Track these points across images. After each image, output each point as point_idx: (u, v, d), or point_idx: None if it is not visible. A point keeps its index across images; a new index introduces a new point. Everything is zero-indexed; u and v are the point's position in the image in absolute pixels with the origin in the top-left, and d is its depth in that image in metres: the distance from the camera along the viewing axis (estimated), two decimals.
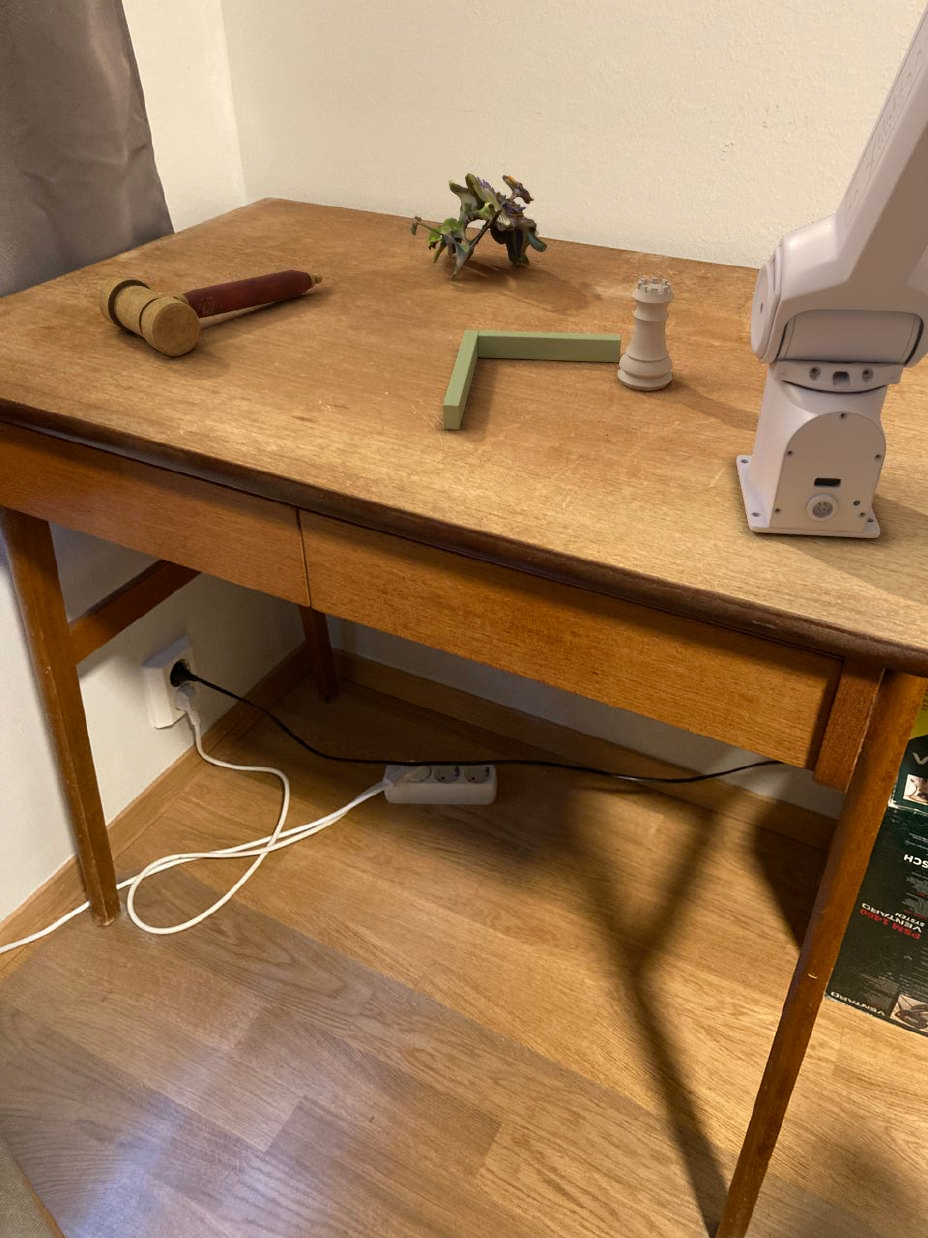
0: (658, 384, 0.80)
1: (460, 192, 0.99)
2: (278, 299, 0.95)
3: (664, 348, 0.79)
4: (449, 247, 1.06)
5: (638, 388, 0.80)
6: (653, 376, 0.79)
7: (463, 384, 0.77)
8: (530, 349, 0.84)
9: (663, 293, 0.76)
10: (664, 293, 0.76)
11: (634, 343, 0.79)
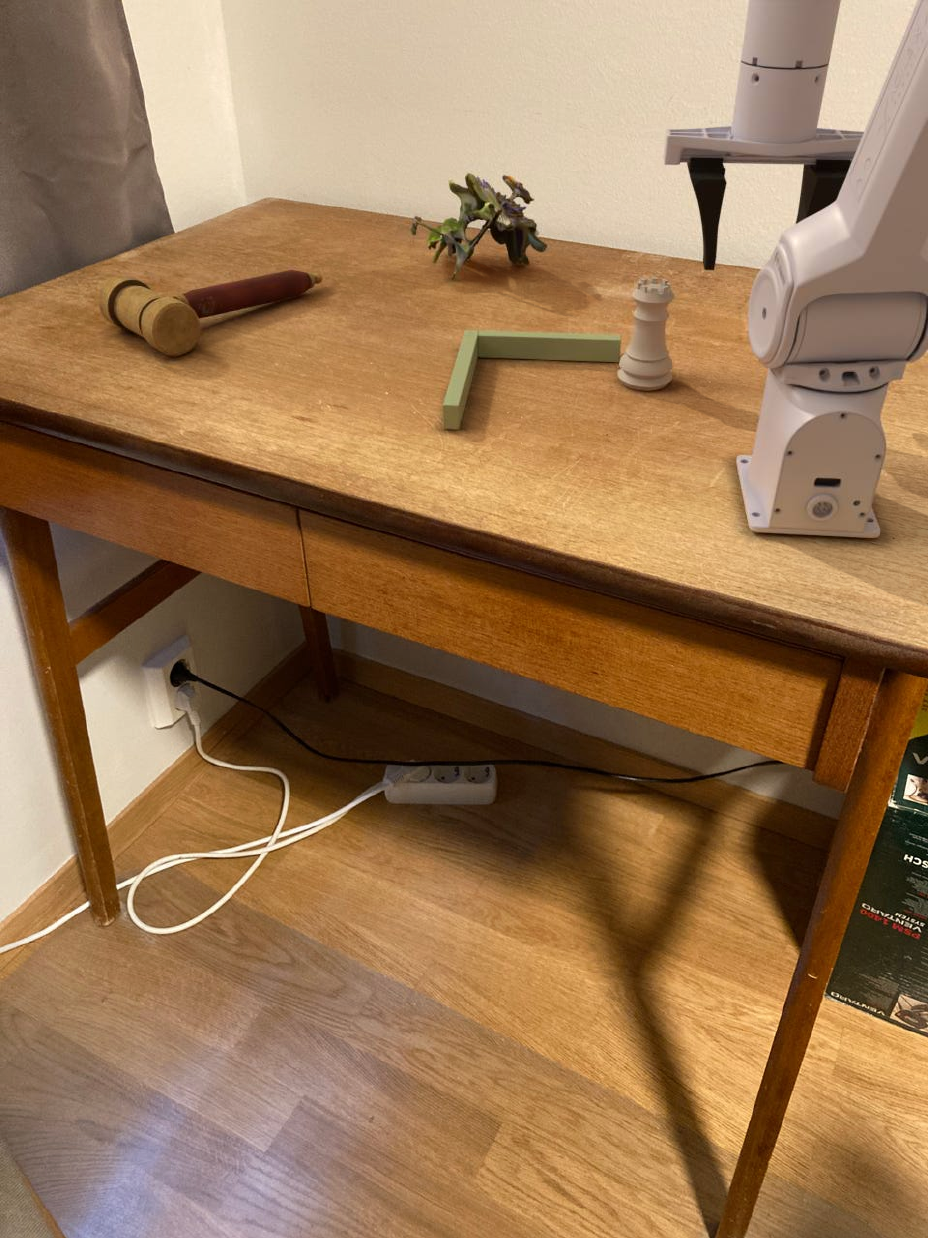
0: (658, 384, 0.80)
1: (460, 192, 0.99)
2: (278, 299, 0.95)
3: (664, 348, 0.79)
4: (449, 247, 1.06)
5: (638, 388, 0.80)
6: (653, 376, 0.79)
7: (463, 384, 0.77)
8: (530, 349, 0.84)
9: (663, 293, 0.76)
10: (664, 293, 0.76)
11: (634, 343, 0.79)
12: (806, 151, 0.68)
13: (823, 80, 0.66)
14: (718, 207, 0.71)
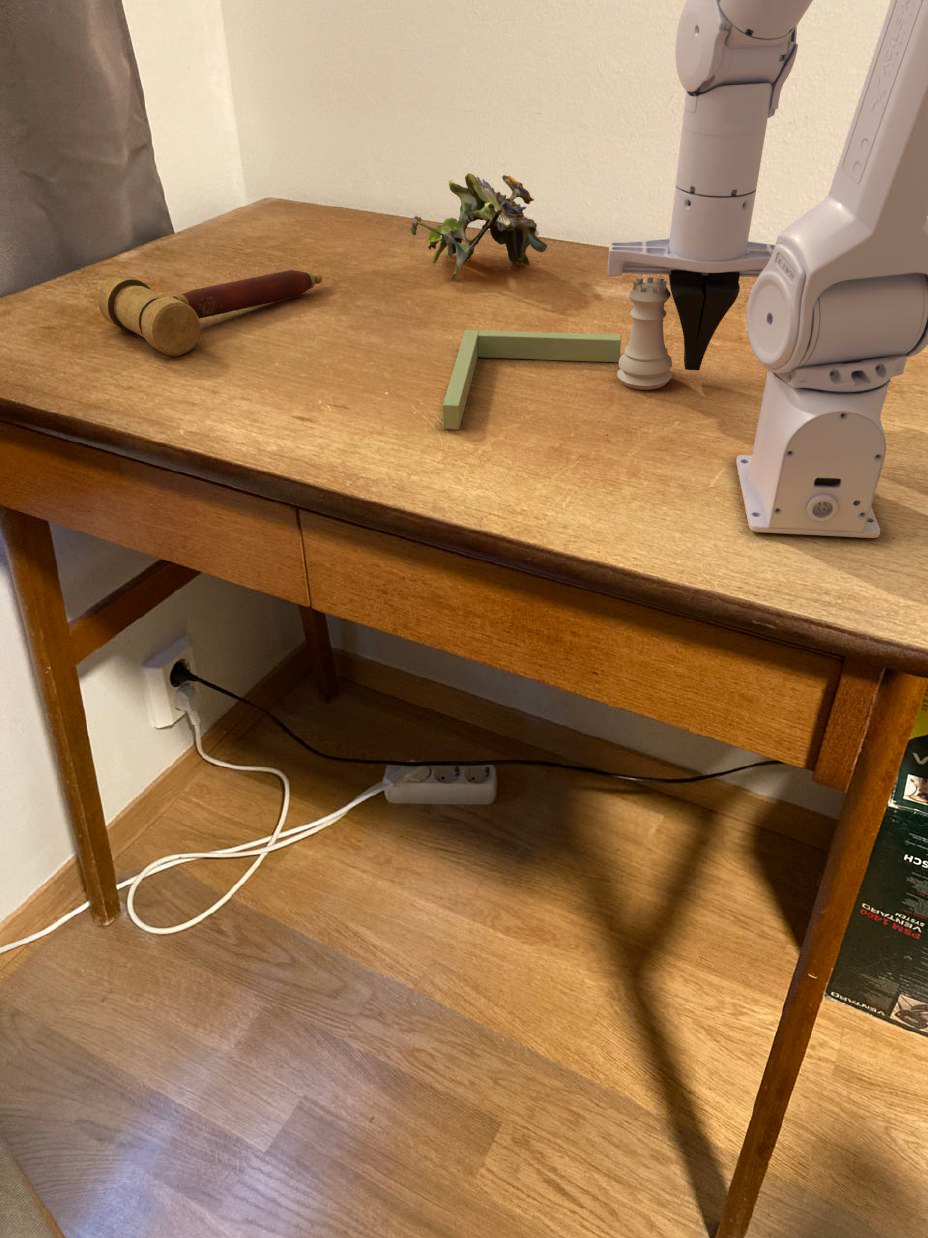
0: (658, 383, 0.80)
1: (460, 192, 0.99)
2: (278, 299, 0.95)
3: (662, 346, 0.79)
4: (449, 247, 1.06)
5: (638, 387, 0.80)
6: (653, 375, 0.79)
7: (463, 384, 0.77)
8: (530, 349, 0.84)
9: (659, 291, 0.76)
10: (659, 292, 0.76)
11: (632, 343, 0.79)
12: (736, 268, 0.73)
13: (751, 205, 0.71)
14: (697, 316, 0.76)
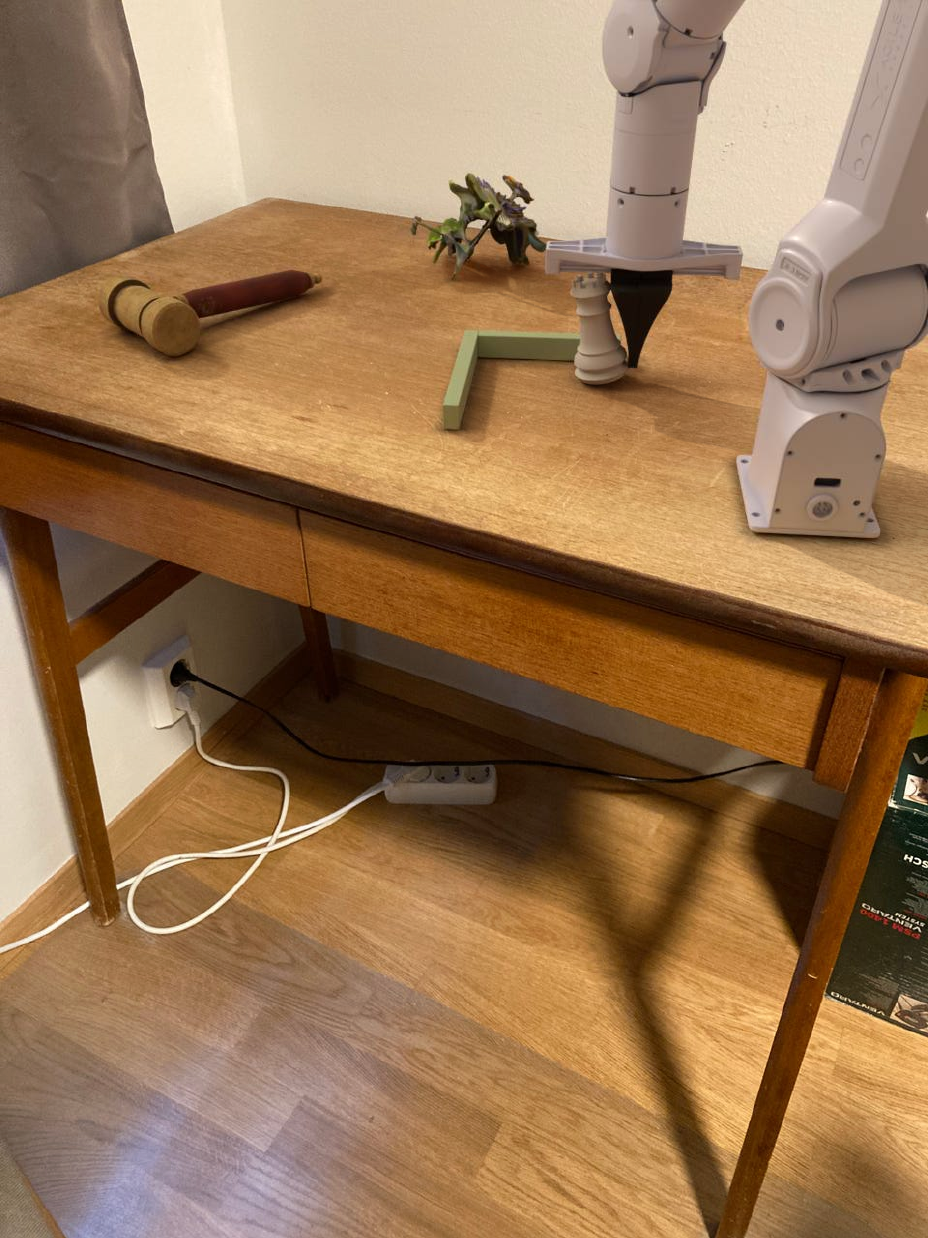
0: (615, 375, 0.80)
1: (460, 192, 0.99)
2: (278, 299, 0.95)
3: (613, 338, 0.79)
4: (449, 247, 1.06)
5: (596, 382, 0.80)
6: (608, 368, 0.79)
7: (463, 384, 0.77)
8: (530, 349, 0.84)
9: (599, 285, 0.76)
10: (599, 286, 0.76)
11: (583, 339, 0.79)
12: (671, 266, 0.73)
13: (683, 204, 0.72)
14: (637, 314, 0.76)
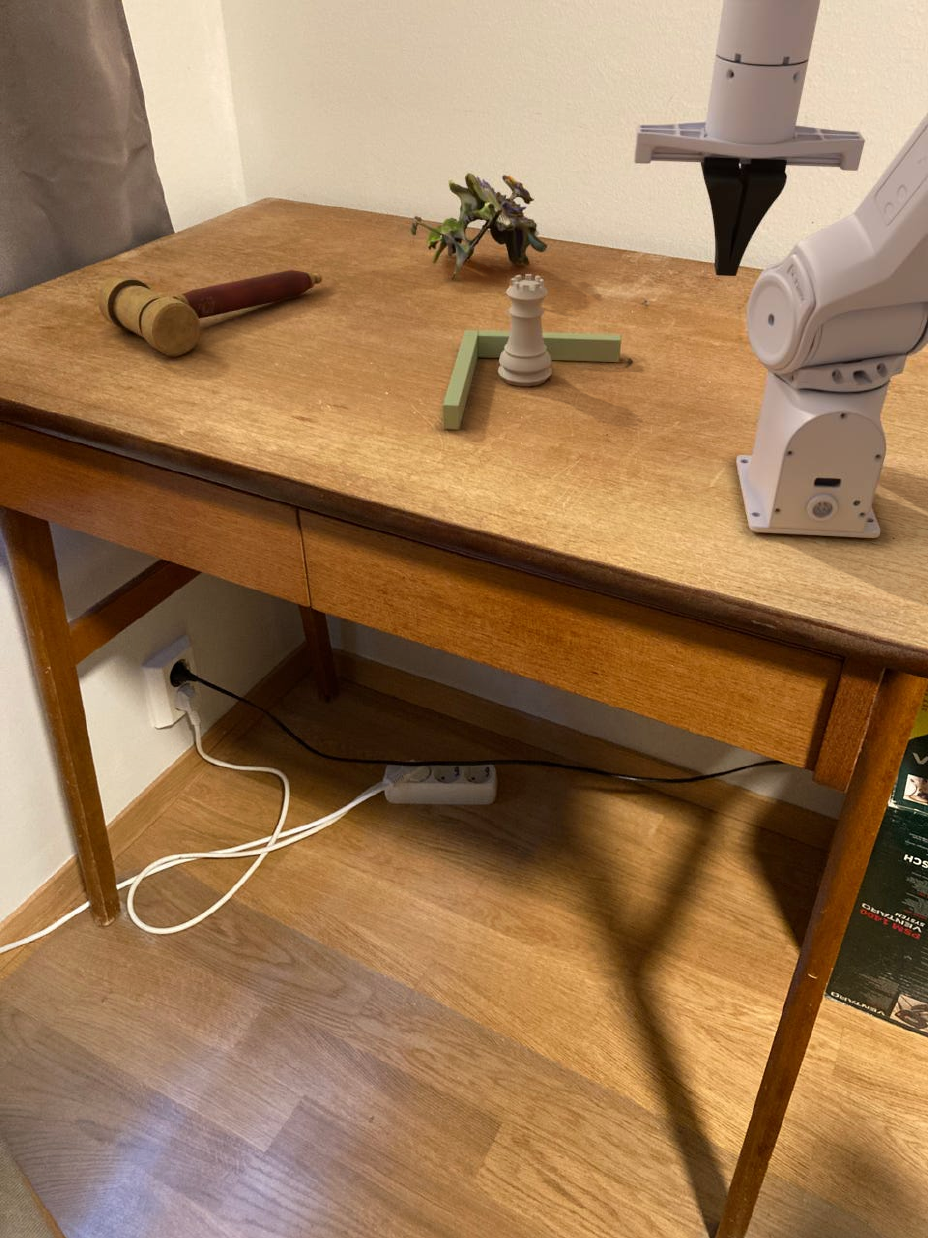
0: (536, 380, 0.81)
1: (460, 192, 0.99)
2: (278, 299, 0.95)
3: (541, 344, 0.80)
4: (449, 247, 1.06)
5: (517, 384, 0.81)
6: (531, 372, 0.80)
7: (463, 384, 0.77)
8: None
9: (535, 289, 0.77)
10: (536, 290, 0.77)
11: (511, 339, 0.80)
12: (783, 153, 0.64)
13: (802, 77, 0.62)
14: (733, 211, 0.67)
